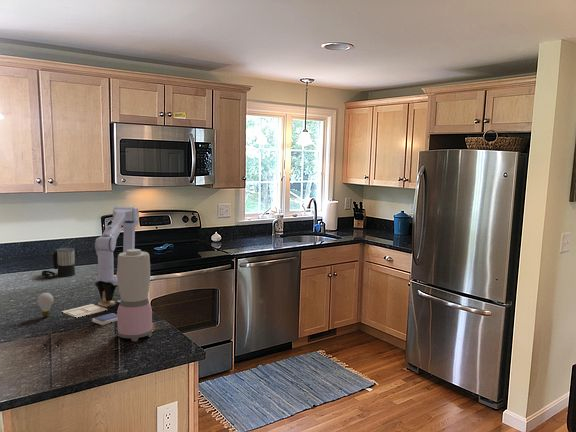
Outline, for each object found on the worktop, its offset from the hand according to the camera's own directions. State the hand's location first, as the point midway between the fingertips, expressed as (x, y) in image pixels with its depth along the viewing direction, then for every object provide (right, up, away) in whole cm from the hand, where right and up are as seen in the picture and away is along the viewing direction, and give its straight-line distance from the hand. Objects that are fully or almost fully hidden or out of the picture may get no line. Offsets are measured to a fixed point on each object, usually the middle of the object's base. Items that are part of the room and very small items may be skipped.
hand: (106, 299), depth 188 cm
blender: (+15, -11, -14) cm, 23 cm away
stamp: (0, -2, 0) cm, 2 cm away
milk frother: (-54, 0, +72) cm, 90 cm away
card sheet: (-14, -7, +12) cm, 20 cm away
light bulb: (-26, -8, +4) cm, 28 cm away
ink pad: (0, -9, +1) cm, 8 cm away
